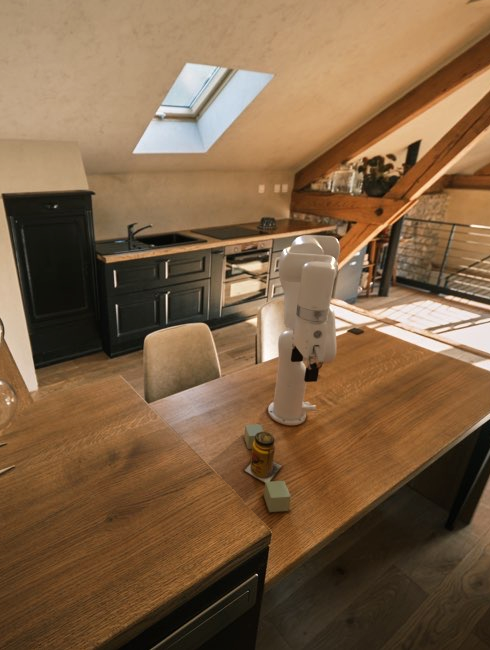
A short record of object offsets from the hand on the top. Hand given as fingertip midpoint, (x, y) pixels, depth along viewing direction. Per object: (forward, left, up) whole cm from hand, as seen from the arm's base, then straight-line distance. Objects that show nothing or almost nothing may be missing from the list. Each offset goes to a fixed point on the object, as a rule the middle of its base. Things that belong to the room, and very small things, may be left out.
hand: (303, 370), depth 101 cm
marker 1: (+9, -7, -30) cm, 32 cm away
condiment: (+9, +4, -31) cm, 32 cm away
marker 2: (+9, +15, -30) cm, 35 cm away
